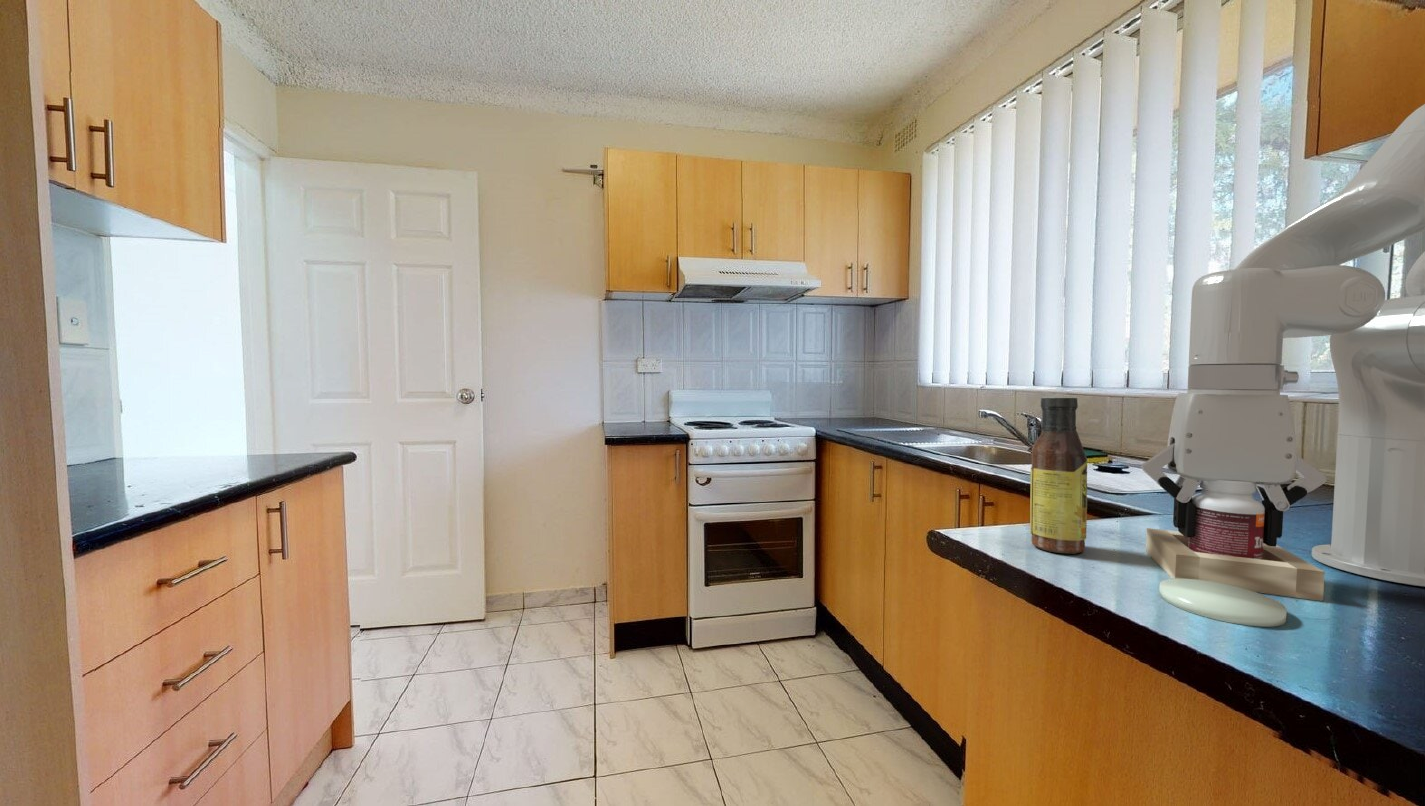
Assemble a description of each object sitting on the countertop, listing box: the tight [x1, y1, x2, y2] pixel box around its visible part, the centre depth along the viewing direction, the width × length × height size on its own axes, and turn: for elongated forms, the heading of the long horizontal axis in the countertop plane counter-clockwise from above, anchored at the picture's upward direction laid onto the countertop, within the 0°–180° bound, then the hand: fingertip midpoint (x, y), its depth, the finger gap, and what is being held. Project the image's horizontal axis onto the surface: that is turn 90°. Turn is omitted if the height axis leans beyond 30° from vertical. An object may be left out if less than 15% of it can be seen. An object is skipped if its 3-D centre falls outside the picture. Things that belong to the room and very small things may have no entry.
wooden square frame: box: [1145, 528, 1325, 602], centre depth 61 cm, size 12×12×3 cm
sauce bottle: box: [1029, 396, 1088, 555], centre depth 70 cm, size 6×6×20 cm
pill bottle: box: [1188, 480, 1265, 560], centre depth 61 cm, size 6×6×11 cm
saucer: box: [1158, 578, 1287, 628], centre depth 53 cm, size 9×9×1 cm
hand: (1224, 537), depth 61 cm, fingers closed on pill bottle, 6 cm apart
